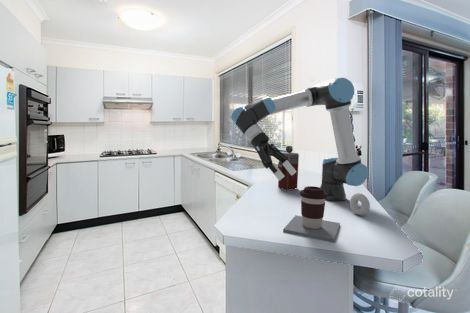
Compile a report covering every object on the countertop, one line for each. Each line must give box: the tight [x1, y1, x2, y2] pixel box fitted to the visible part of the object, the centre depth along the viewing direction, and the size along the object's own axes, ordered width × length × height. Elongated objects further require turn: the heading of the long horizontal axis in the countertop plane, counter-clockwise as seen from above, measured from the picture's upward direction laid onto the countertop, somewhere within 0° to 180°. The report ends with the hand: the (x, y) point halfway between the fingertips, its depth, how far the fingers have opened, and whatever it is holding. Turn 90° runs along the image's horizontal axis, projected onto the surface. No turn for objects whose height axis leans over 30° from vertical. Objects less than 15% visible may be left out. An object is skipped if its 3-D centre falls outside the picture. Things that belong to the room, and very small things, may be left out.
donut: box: [349, 193, 371, 217], centre depth 116 cm, size 10×4×10 cm, turn 21°
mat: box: [282, 215, 341, 243], centre depth 99 cm, size 18×18×1 cm
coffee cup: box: [299, 185, 327, 229], centre depth 98 cm, size 10×10×15 cm
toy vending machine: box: [277, 145, 300, 191], centre depth 166 cm, size 9×11×28 cm
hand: (288, 176), depth 103 cm, fingers open, 13 cm apart
